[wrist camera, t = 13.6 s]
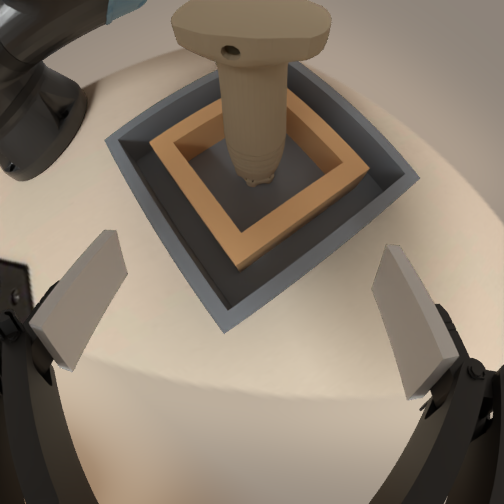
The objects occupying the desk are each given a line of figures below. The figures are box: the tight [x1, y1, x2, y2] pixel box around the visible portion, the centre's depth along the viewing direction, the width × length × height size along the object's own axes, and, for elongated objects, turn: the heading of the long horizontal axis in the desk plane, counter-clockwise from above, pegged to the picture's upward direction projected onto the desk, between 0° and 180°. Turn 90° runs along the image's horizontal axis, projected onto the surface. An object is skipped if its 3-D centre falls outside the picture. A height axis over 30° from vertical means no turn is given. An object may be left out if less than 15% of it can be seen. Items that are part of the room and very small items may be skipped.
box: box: [105, 61, 420, 334], centre depth 21 cm, size 18×18×5 cm
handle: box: [171, 0, 331, 187], centre depth 15 cm, size 5×6×15 cm
